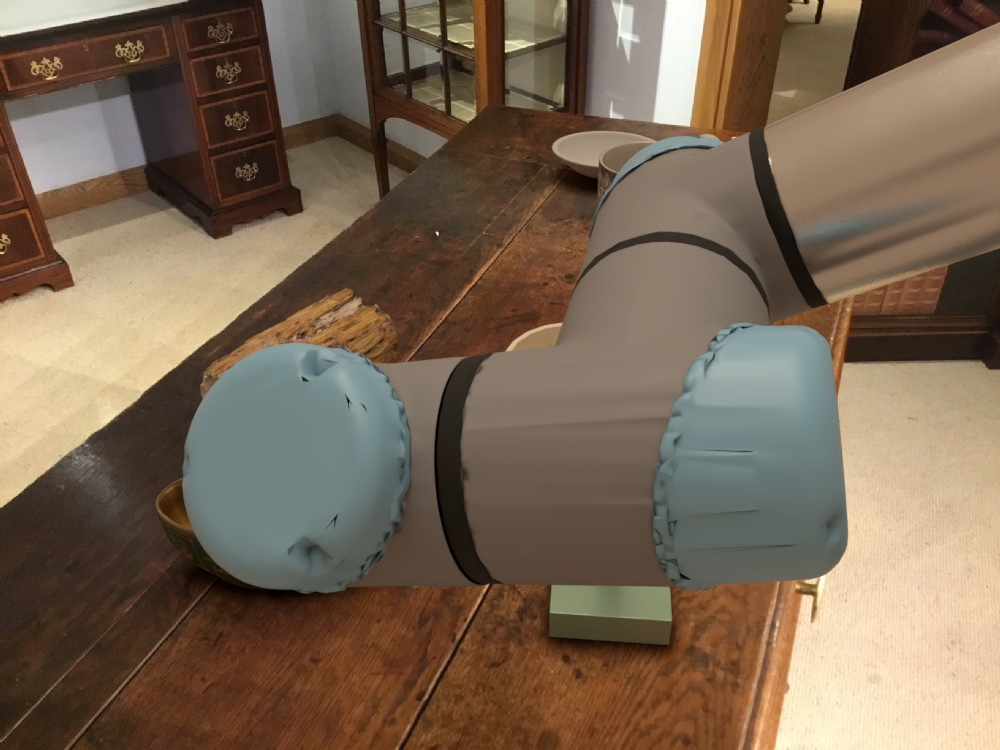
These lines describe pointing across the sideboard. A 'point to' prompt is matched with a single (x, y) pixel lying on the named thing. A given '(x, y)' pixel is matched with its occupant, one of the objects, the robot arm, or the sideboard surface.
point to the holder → (611, 613)
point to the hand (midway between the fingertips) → (590, 510)
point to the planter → (615, 162)
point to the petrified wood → (322, 333)
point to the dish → (590, 148)
